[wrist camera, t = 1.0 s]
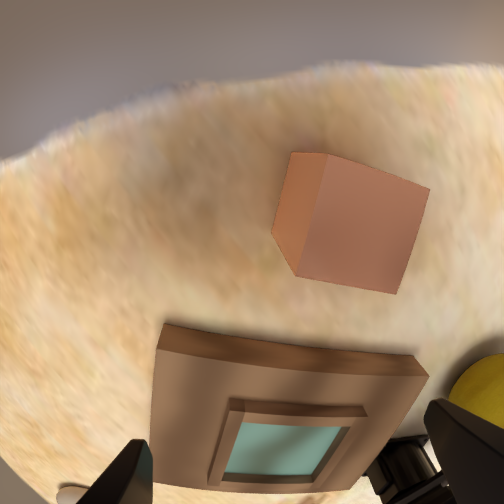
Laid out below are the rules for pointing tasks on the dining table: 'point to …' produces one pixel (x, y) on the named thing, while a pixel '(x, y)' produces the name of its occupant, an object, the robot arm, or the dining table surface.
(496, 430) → the robot arm
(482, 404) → the lemon
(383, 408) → the brown flat frame
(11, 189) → the dining table surface
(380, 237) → the terracotta block
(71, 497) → the donut
